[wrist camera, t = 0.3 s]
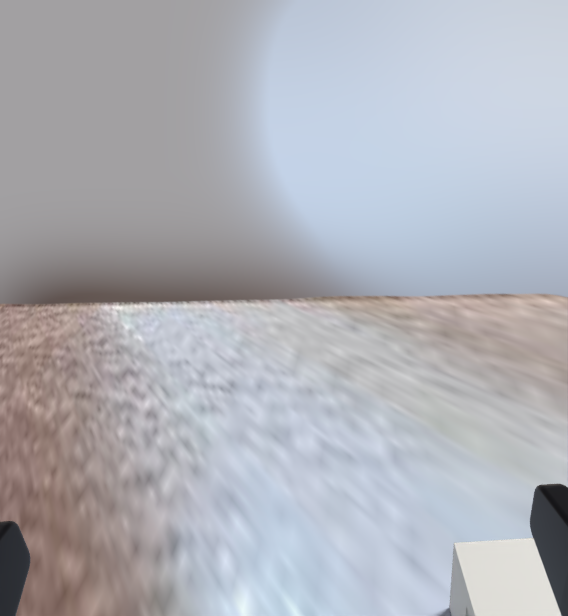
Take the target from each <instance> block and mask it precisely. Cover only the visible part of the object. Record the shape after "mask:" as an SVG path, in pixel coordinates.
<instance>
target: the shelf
mask: <svg viewBox="0 0 568 616" xmlns="http://www.w3.org/2000/svg"><path fill="white" fill-rule="evenodd" d="M449 607H450V611H451V615H452V616H561V613H560V610H559V608H558V605H557V602H556V599H555V596H554V594H553V591H552V588H551V585H550V583H549V580H548V577H547V574H546V572H545V569H544V566H543V563H542V560H541V558H540V555H539V552H538V549H537V547H536V544H535V541H534V538H526V539H510V540H494V541H478V542H462V543H454V549H453V563H452V577H451V591H450V605H449Z"/></svg>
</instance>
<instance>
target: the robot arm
mask: <svg viewBox="0 0 568 616" xmlns="http://www.w3.org/2000/svg"><path fill="white" fill-rule="evenodd" d="M530 527H531V532H532V535H533V538H534V541H535V544H536V547H537V549H538V552H539V555H540V558H541V560H542V563H543V566H544V569H545V572H546V574H547V577H548V580H549V583H550V585H551V588H552V591H553V594H554V596H555V599H556V602H557V605H558V608H559V610H560V613H561V616H568V487H566V486H564V485H562V484H547V485H539V486H537V487H536V489H535V492H534V498H533V504H532V510H531V516H530ZM29 566H30V553H29V550H28V548H27V545H26V543H25V541H24V538H23V536H22V533H21V531H20V528H19V526H18V524H16V523H15V522H13V521H4V522H0V616H16V612H17V609H18V605H19V602H20V598H21V595H22V591H23V588H24V584H25V581H26V577H27V574H28V570H29Z"/></svg>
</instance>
